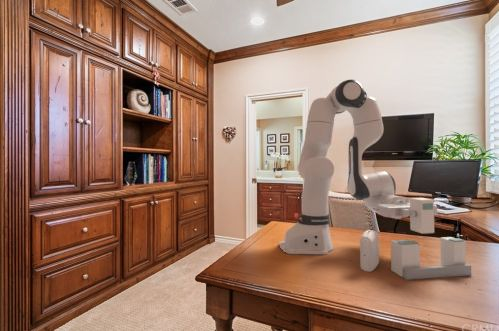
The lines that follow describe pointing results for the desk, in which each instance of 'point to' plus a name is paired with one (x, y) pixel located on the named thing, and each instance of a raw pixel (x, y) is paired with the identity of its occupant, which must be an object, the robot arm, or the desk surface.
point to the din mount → (408, 266)
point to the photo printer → (369, 250)
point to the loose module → (422, 215)
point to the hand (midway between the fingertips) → (423, 214)
